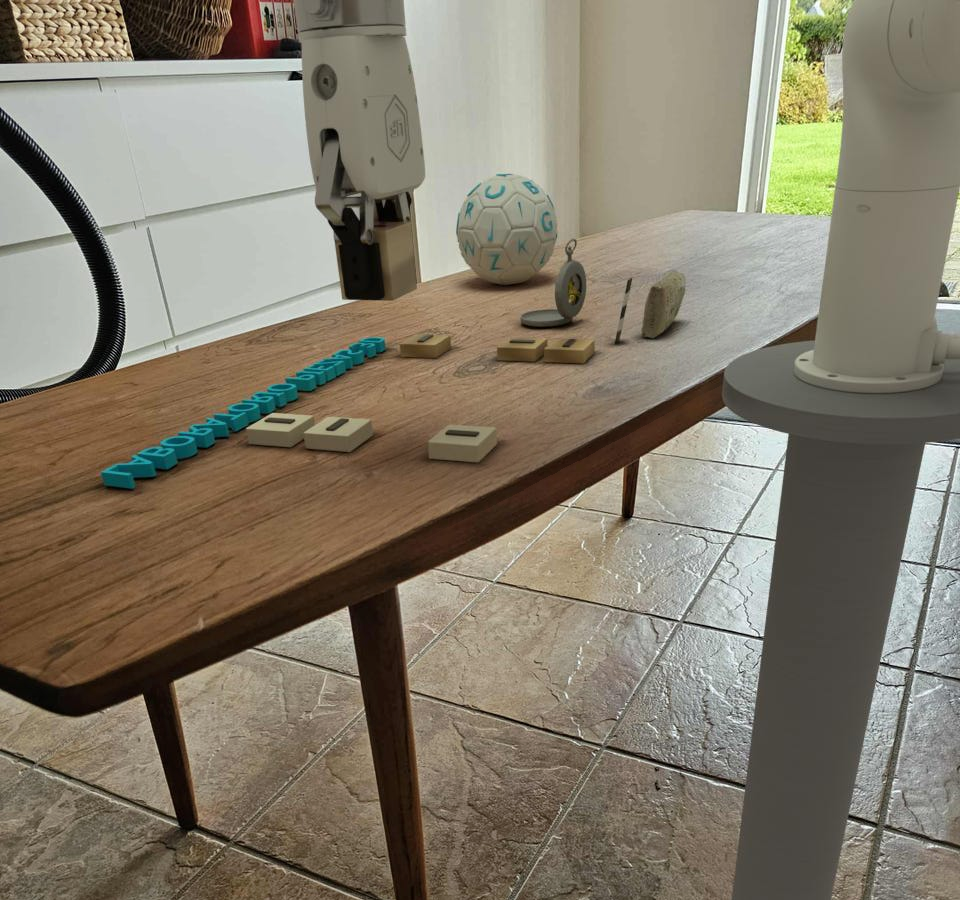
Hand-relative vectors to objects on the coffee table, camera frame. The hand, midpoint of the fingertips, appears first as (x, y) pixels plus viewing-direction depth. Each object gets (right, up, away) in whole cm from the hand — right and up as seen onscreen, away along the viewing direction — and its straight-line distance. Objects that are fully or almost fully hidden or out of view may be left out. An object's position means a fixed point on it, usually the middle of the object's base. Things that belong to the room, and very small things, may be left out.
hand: (380, 289), depth 71 cm
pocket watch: (+17, +12, +42) cm, 47 cm away
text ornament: (-13, -4, +20) cm, 24 cm away
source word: (+10, +5, +31) cm, 33 cm away
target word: (-2, -11, +8) cm, 13 cm away
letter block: (0, 0, 0) cm, 0 cm away
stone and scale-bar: (+28, +8, +35) cm, 46 cm away
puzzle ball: (+12, +27, +67) cm, 73 cm away
